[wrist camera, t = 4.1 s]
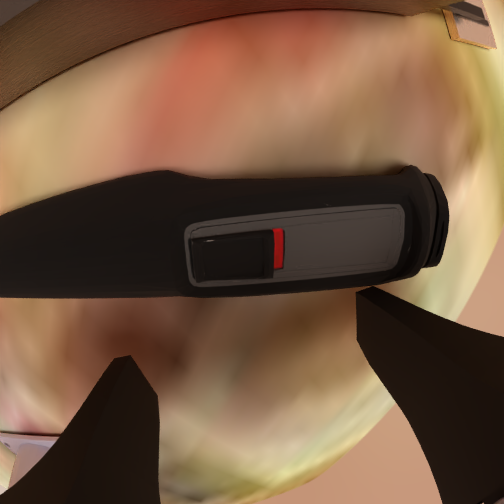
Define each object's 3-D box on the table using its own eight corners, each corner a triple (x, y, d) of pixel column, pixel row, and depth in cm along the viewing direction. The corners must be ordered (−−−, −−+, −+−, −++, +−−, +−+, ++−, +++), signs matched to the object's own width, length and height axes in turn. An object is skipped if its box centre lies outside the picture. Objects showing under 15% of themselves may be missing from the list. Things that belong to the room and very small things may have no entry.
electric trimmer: (-10, 191, 7) (-66, 220, 4) (421, 162, 9) (484, 183, 6) (15, 286, 9) (-25, 335, 6) (407, 256, 11) (457, 297, 8)
